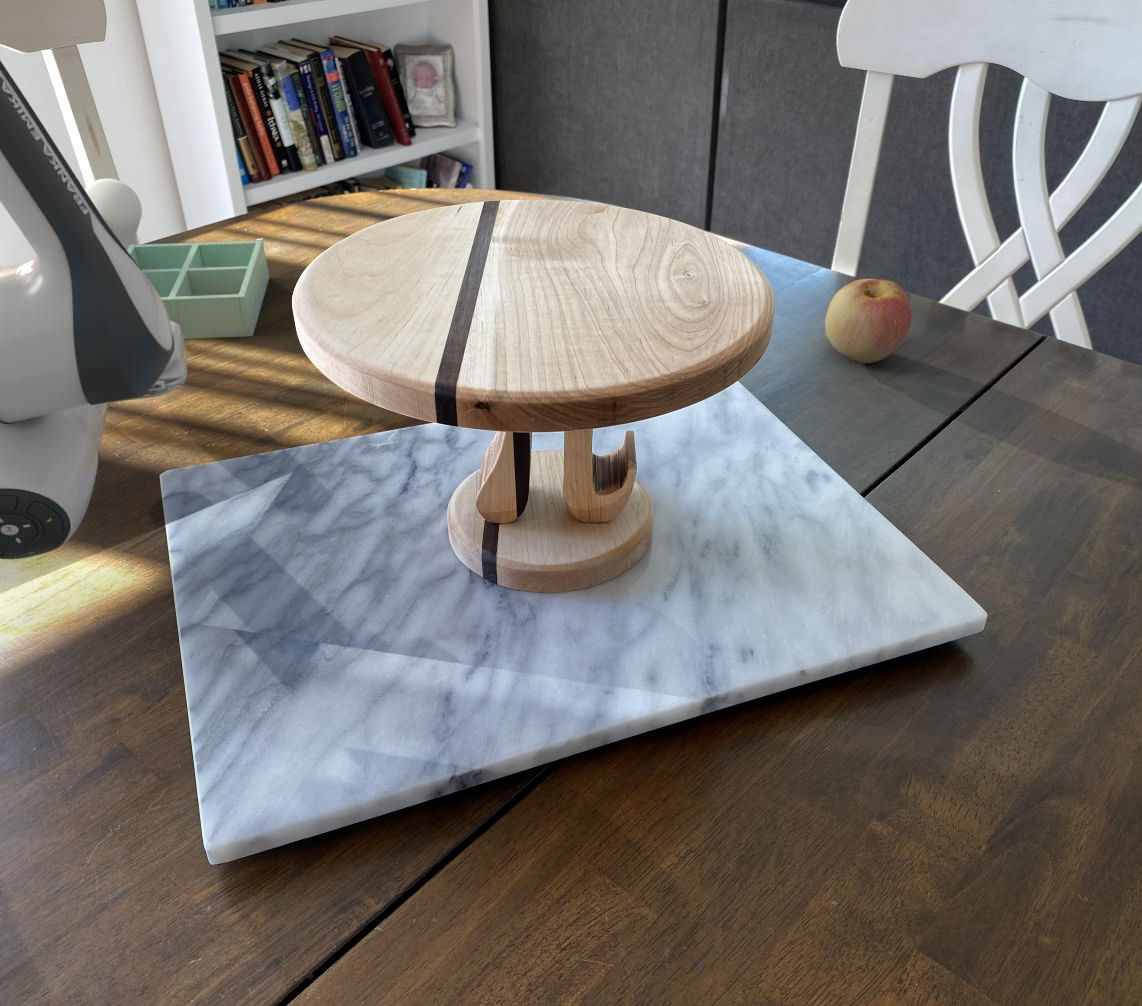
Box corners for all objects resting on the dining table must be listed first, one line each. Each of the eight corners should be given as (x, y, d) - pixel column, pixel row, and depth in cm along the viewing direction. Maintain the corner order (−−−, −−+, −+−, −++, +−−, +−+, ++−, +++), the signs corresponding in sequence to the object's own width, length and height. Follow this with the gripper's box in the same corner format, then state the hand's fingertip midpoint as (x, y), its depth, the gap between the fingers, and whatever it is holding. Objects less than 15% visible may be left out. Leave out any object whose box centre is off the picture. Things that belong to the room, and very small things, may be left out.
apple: (896, 339, 106) (913, 273, 101) (903, 378, 99) (923, 309, 94) (817, 331, 107) (831, 265, 102) (820, 370, 100) (834, 301, 95)
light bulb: (122, 284, 113) (96, 194, 106) (88, 270, 116) (60, 182, 109) (168, 265, 118) (145, 178, 111) (134, 252, 120) (110, 166, 114)
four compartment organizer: (108, 342, 102) (95, 302, 99) (140, 282, 114) (129, 244, 111) (252, 336, 103) (244, 296, 101) (269, 277, 115) (262, 240, 112)
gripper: (176, 352, 73) (182, 278, 83) (-121, 384, 68) (-76, 301, 78) (194, 420, 77) (197, 341, 87) (-86, 455, 72) (-47, 367, 82)
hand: (66, 323), depth 83 cm, fingers closed on soda can, 5 cm apart
